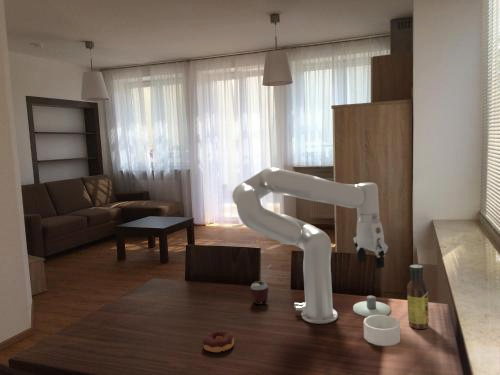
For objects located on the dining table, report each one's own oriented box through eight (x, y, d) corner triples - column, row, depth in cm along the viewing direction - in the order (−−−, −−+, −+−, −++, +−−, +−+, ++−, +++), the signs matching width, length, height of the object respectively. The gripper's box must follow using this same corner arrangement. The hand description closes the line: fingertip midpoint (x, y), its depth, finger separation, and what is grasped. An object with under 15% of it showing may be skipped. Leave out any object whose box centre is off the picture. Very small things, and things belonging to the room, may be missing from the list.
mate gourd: (248, 304, 161) (245, 267, 160) (258, 297, 168) (255, 262, 166) (264, 307, 157) (261, 269, 156) (274, 300, 164) (271, 264, 162)
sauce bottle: (431, 330, 130) (429, 269, 128) (410, 329, 131) (408, 269, 129) (426, 321, 136) (424, 263, 134) (406, 321, 138) (404, 263, 136)
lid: (351, 316, 145) (350, 302, 145) (355, 302, 157) (355, 289, 157) (389, 319, 140) (389, 305, 140) (391, 305, 152) (390, 292, 152)
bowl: (362, 343, 125) (362, 327, 124) (366, 328, 134) (365, 313, 134) (399, 347, 121) (399, 331, 120) (400, 331, 130) (400, 316, 130)
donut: (197, 346, 130) (196, 334, 130) (223, 336, 136) (222, 324, 136) (214, 358, 122) (213, 345, 122) (240, 346, 128) (240, 334, 128)
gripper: (394, 219, 139) (396, 268, 141) (361, 213, 155) (363, 257, 157) (376, 222, 136) (379, 272, 138) (344, 216, 152) (347, 261, 154)
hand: (370, 264), depth 147 cm, fingers open, 9 cm apart
